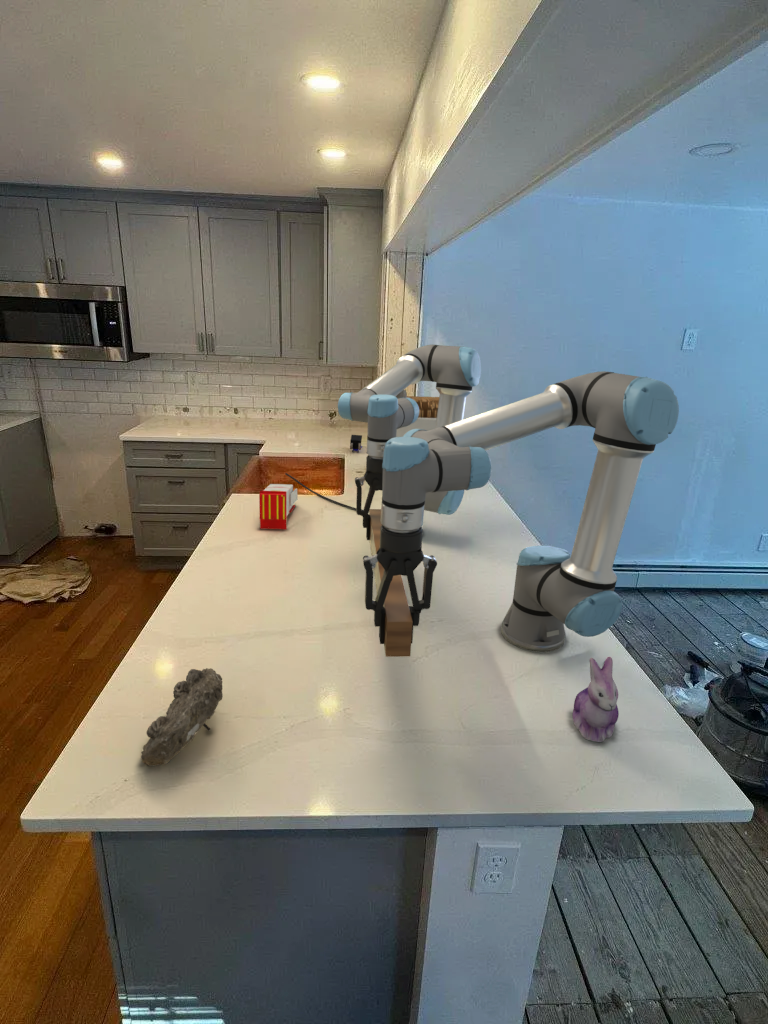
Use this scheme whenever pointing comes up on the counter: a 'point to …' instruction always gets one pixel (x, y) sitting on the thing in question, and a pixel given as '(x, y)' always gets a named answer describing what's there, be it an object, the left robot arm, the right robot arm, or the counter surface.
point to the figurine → (597, 703)
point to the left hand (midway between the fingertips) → (377, 538)
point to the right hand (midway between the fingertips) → (395, 639)
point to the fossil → (183, 716)
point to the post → (392, 600)
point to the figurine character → (355, 442)
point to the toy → (276, 505)
